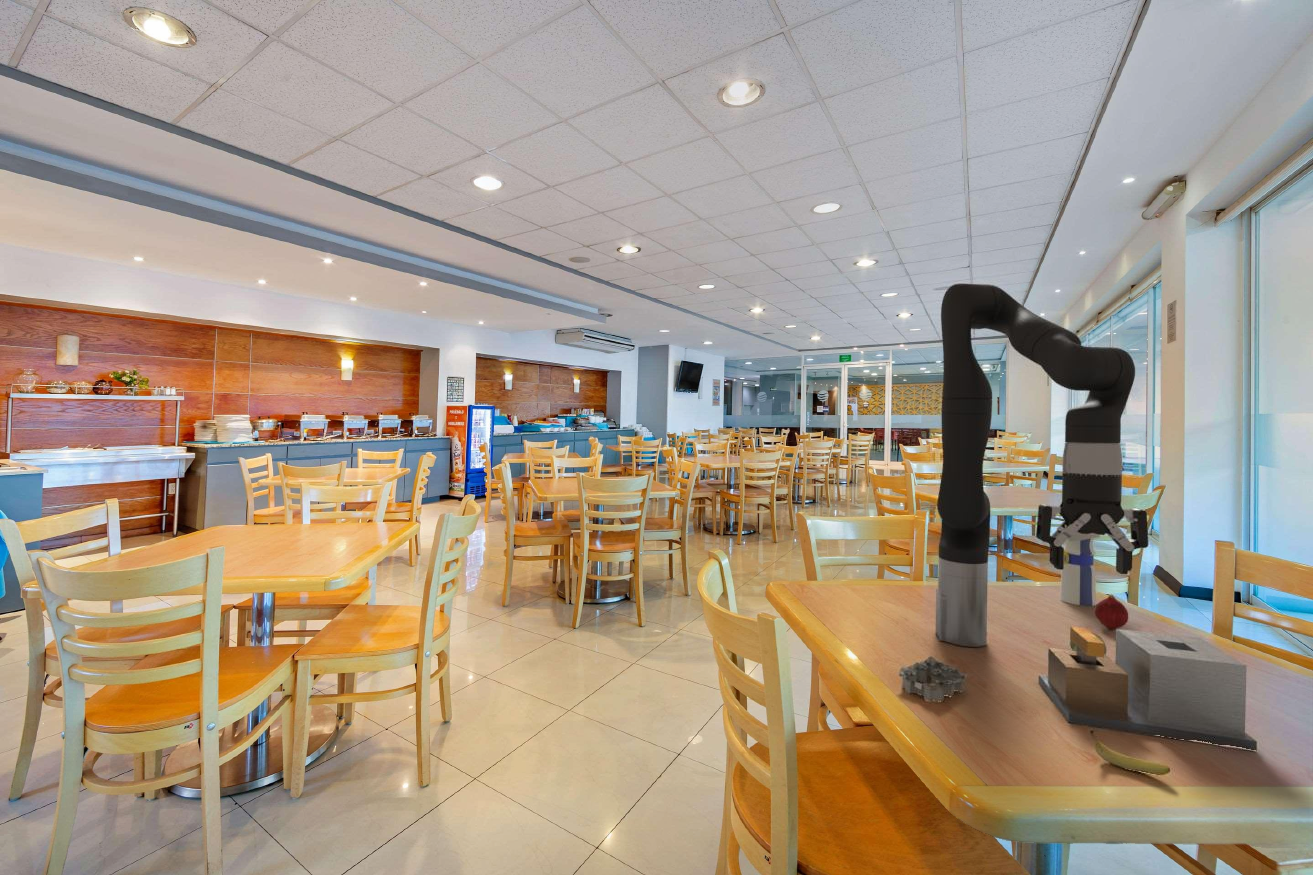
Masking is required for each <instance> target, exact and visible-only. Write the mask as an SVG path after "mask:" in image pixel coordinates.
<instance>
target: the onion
mask: <svg viewBox="0 0 1313 875" xmlns="http://www.w3.org/2000/svg"><path fill="white" fill-rule="evenodd" d="M1094 615H1095V617H1096V619H1097V620H1098V622H1100V624H1101V625H1102V626H1104V627H1105V628H1107V629H1108V630H1109V631H1116V629H1120V628H1122V627H1124V626H1125V625H1127V623H1128V621H1129V611H1128V609H1127V608H1126V606H1125V605H1124V604H1123V603H1122V602H1121V601H1119V600H1117V598H1115V596H1114V595H1113V594H1111V593H1110V594H1108V597H1107V598H1105V599H1102V600H1101V601H1099V602H1098V603H1097V604H1096V605H1095V608H1094Z"/></svg>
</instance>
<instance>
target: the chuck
mask: <svg viewBox="0 0 1313 875" xmlns="http://www.w3.org/2000/svg"><path fill="white" fill-rule="evenodd" d="M1076 652H1077V651H1073V650H1072V649H1063V648H1056V647H1048V660H1047V661H1048V662H1047V663H1048V664H1047V666H1048V667H1047V669H1048V670H1047V674H1038V684H1039V685H1040V687H1041V688H1042V690H1043V691H1044V692H1045V693H1046V695H1047V696H1048V697H1049V699H1050V700H1051V701H1052V703H1053V704H1054V705H1055V707H1056V708H1057V709H1058V711H1059V710H1060V711H1059V712H1060V713H1061V715H1062V714H1063V715H1062V716H1063V718H1064V719H1065V720H1066V721H1067V722H1068V723H1069V722H1070V723H1069V724H1073V723H1074V724H1075V725H1080V724H1084V725H1083V726H1086V725H1088V727H1093V728H1099V729H1105V730H1112V729H1114V730H1113V731H1119V732H1124V733H1125V732H1127V733H1132V734H1138V735H1144V734H1146V735H1145V736H1150V735H1160V736H1164V737H1171V738H1176V739H1184V740H1197V741H1202V742H1203V741H1204V742H1208V743H1209V742H1210V743H1212V744H1218V745H1230V746H1236V747H1242V748H1246V749H1251V750H1256V751H1257V750H1258V745H1257V744H1258V741H1257V740H1256V739H1254V737H1252V736H1251V735H1249V734H1248V733H1247V732H1246V708H1247V707H1246V705H1247V704H1246V703H1247V702H1246V701H1247V698H1246V697H1247V669H1248V668H1247V665H1246V664H1245V663H1244V662H1242V661H1240V660H1238V659H1236V658H1235V657H1233V656H1231V655H1230V654H1228V653H1226V652H1225V651H1223V650H1221V649H1219V648H1218V647H1216V646H1215V645H1212V644H1211V643H1209V642H1208V641H1206V640H1204V639H1203V638H1201V637H1199V636H1198V637H1197V636H1196V637H1195V636H1187V635H1178V634H1177V635H1176V634H1167V633H1159V632H1158V633H1157V632H1151V631H1150V632H1149V631H1140V630H1132V629H1131V630H1130V629H1129V630H1128V629H1120V628H1117V629H1115V661H1114V660H1113V659H1111V657H1109V656H1108V655H1107V654H1106V655H1105V654H1104V657H1096V665H1088V664H1080V663H1077V662H1076ZM1074 724H1073V725H1074ZM1176 739H1175V740H1176ZM1257 752H1258V751H1257Z"/></svg>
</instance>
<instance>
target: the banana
mask: <svg viewBox="0 0 1313 875" xmlns="http://www.w3.org/2000/svg"><path fill="white" fill-rule="evenodd" d="M1088 733H1089V735H1091V737H1092V739H1093V740H1094V743H1095V746H1094V747H1095V751H1096V753H1097V755H1099V756H1100V757H1101V758H1102V759H1103V760H1104V761H1106V762H1108V763H1109V762H1110V764H1111V763H1112V764H1111V765H1113V764H1114V765H1113V766H1115V765H1117V766H1116V767H1118V766H1120V767H1119V768H1121V767H1123V768H1127V769H1131V770H1135V771H1141V772H1146V773H1150V774H1156V775H1155V776H1164V775H1167V774H1169V773H1170V772H1171V769H1170V767H1169V765H1168V766H1167V765H1166V764H1164V763H1161V762H1156V761H1150V760H1146V759H1141V758H1135V757H1132V756H1129V755H1125V754H1122V753H1119V752H1117V751H1114V750H1112V749H1110V748H1109V747H1107V746H1105V744H1103V743H1101V742H1100V741H1099V739H1098V738H1097V735H1096V733H1095V729H1089V730H1088ZM1123 768H1122V769H1123ZM1150 774H1149V775H1150Z"/></svg>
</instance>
